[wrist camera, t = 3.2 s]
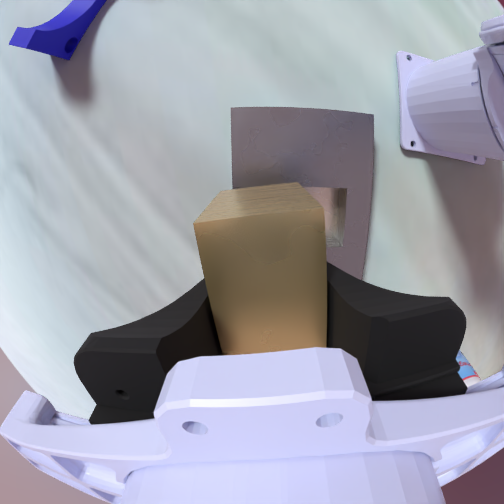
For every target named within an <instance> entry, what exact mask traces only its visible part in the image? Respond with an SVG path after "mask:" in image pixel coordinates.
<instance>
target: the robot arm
mask: <svg viewBox="0 0 504 504" xmlns="http://www.w3.org/2000/svg"><path fill="white" fill-rule="evenodd" d="M479 36H480V38H481V40H482V41H483V43H484V44H486V45H484V46H480V47H477V48H473V49H470V50H467V51H464V52H461V53H458V54H455V55H452V56H449V57H446V58H443V59H440V60H437V61H433V60H430V59H427V58H424V57H421V56H418V55H415V54H412V53H408V52H405V51H399V52H397V54H396V59H397V69H398V82H399V99H400V145H401V147H402V148H403V149H405V150H412V151H418V152H423V153H429V154H434V155H440V156H445V157H449V158H454V159H459V160H463V161H467V162H471V163H475V164H479V165H484V164H485V161H486V158H492V159H497V160H502V161H504V15H501V16H498V17H495V18H492V19H489V20H486V21H484V22H482V23H481V32H479ZM406 56H407V57H409V59H410V61H409V60H408V59H407V58H406ZM411 141H412V142H413V144H414V145H413V147H411V144H410V143H411ZM474 156H475V159H474ZM465 330H466V317H465V315H464V313H463V311H462V310H461V309H460V308H459V307H458V306H457V305H456V304H455V303H454V302H453V301H452V300H451V299H450V298H449V297H427V296H417V295H410V294H404V293H399V292H395V291H390V290H387V289H383V288H380V287H377V286H374V285H372V284H369V283H367V282H364V281H362V280H360V279H358V278H356V277H354V276H352V275H350V274H348V273H346V272H344V271H343V270H341V269H339V268H338V267H336V266H334V265H332V264H331V263H329V262H327V340H326V348H321V347H313V348H305V349H297V350H288V351H278V352H268V353H256V354H242V355H225V356H223V353H222V349H221V345H220V341H219V338H218V334H217V330H216V325H215V321H214V317H213V313H212V309H211V305H210V300H209V296H208V292H207V287H206V283H205V278H204V279H203V280H202V281H200V282H199V283H198V284H197V285H195V286H194V287H193V288H192V289H191V290H189V291H188V292H187V293H185V294H184V295H183V296H181V297H180V298H178V299H177V300H176V301H174V302H173V303H171V304H169V305H168V306H166V307H164V308H163V309H161V310H159V311H157V312H155V313H153V314H151V315H148V316H146V317H144V318H142V319H140V320H137V321H134V322H132V323H129V324H126V325H123V326H120V327H116V328H112V329H108V330H103V331H99V332H94V333H91V334H90V335H89V336H88V338H87V339H86V341H85V342H84V343H83V345H82V346H81V348H80V349H79V350H78V352H77V353H76V355H75V357H74V366H75V370H76V373H77V375H78V377H79V379H80V380H81V382H82V383H83V385H84V387H85V388H86V390H87V391H88V393H89V394H90V395H91V397H92V398H93V400H94V401H95V403H96V404H97V405H96V407H95V409H94V411H93V413H92V415H91V417H90V419H89V420H87V419H83V418H79V417H75V416H72V415H68V414H65V413H61V412H58V411H56V410H55V408H54V407H53V405H52V404H51V403H50V401H49V400H48V399H47V398H45V397H44V396H42V395H40V394H37V393H33V392H30V391H28V390H25V391H24V393H23V394H22V395H21V397H20V398H19V400H18V401H17V403H16V404H15V406H14V407H13V408H12V410H11V411H10V413H9V414H8V416H7V417H6V419H5V421H4V422H3V424H2V425H1V427H0V434H1V435H2V436H3V437H4V438H5V439H6V440H7V441H8V442H9V443H10V444H11V445H12V446H13V447H14V448H15V449H16V450H17V451H18V452H19V453H20V454H21V455H22V456H23V457H24V458H25V459H26V460H28V461H29V462H30V463H31V464H33V466H35V467H36V468H37V469H39V470H40V471H42V472H44V473H46V474H48V475H50V476H52V477H54V478H56V479H58V480H60V481H62V482H64V483H66V484H68V485H70V486H72V487H74V488H76V489H78V490H80V491H82V492H85V493H87V494H89V495H91V496H94V497H96V498H98V499H101V500H103V501H106V502H108V503H111V504H446V503H445V500H444V497H443V494H442V490H441V486H443V485H445V484H447V483H449V482H450V481H452V480H454V479H456V478H458V477H459V476H461V475H463V474H464V473H466V472H468V471H469V470H471V469H472V468H474V467H476V466H477V465H479V464H480V463H482V462H483V461H485V460H486V459H488V458H489V457H491V456H492V455H493V454H495V453H496V452H498V451H499V450H500V449H502V448H503V447H504V366H503V368H502V371H500V372H498V373H496V374H494V375H492V376H490V377H488V378H486V379H484V380H482V381H480V382H478V383H476V384H473V385H471V386H469V387H467V386H466V384H465V383H464V381H463V380H462V378H461V377H460V375H459V374H458V372H459V370H460V365H459V363H458V362H457V360H456V357H457V354H458V352H459V349H460V346H461V344H462V341H463V338H464V334H465Z"/></svg>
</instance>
